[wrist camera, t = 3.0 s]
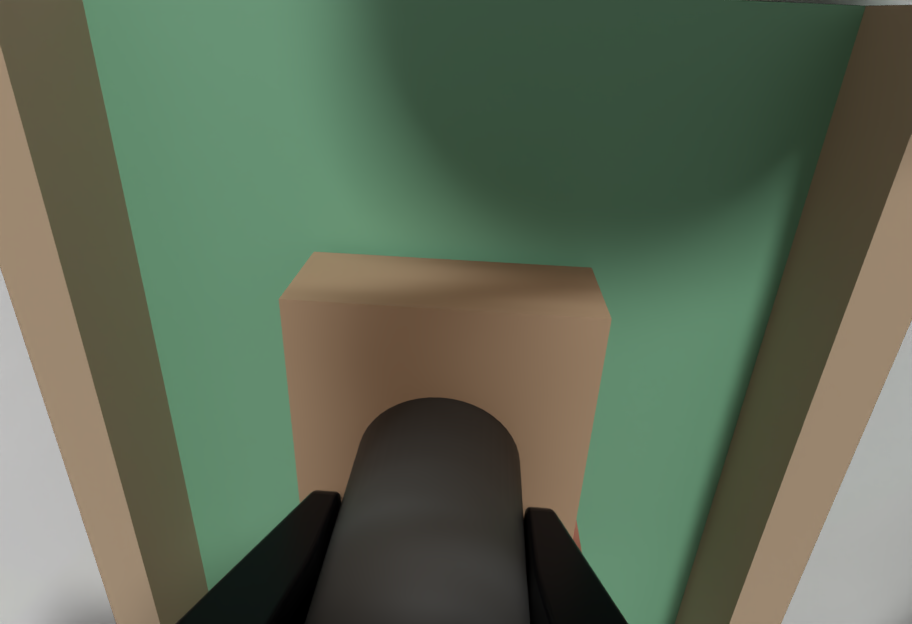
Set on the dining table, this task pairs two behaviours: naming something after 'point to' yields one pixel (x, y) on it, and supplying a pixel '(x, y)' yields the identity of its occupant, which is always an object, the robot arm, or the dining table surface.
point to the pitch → (463, 253)
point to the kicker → (439, 425)
